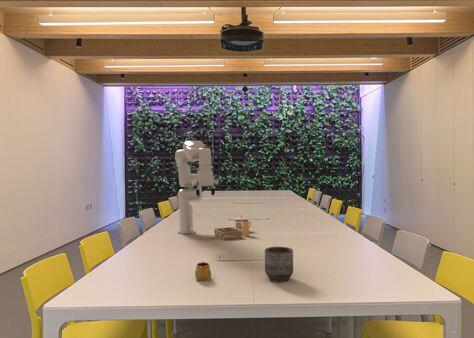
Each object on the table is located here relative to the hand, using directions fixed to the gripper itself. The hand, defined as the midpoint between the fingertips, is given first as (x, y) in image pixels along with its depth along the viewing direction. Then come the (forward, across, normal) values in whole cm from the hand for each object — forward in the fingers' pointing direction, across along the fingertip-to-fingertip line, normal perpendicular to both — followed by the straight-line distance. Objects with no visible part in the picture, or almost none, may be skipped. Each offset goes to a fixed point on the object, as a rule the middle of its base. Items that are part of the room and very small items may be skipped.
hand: (205, 195), depth 244 cm
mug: (+31, +26, +66) cm, 77 cm away
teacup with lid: (+30, -39, -28) cm, 57 cm away
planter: (+31, -1, +84) cm, 90 cm away
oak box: (+30, -21, -13) cm, 39 cm away
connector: (+30, -33, -11) cm, 46 cm away
